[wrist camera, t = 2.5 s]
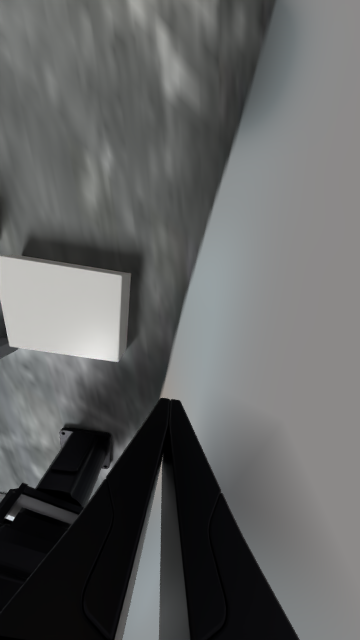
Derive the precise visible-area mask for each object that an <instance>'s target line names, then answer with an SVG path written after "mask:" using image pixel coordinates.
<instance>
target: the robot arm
mask: <svg viewBox="0 0 360 640" xmlns="http://www.w3.org/2000/svg"><path fill="white" fill-rule="evenodd" d="M59 434H60V443H61V450H60V451H59V453H58V454H57V456H56V457H55V459H54V460H53V462H52V464H51V465H50V467H49V468H48V470H47V471H46V473H45V474H44V476H43V477H42V479H41V480H40V482H39V484H38V485H37V487H36V488H35V489H34V488H32V487H29V486H27V485H28V484H25V483H22V484H21V485H20V487H19V488H17V489H10V490H9V491H8V493H7V494H6V495H5V497H4V498H3V499H2V501H1V502H0V640H122V638H123V634H124V629H125V625H126V620H127V616H128V611H129V607H130V602H131V597H132V593H133V588H134V584H135V580H136V575H137V571H138V566H139V562H140V557H141V553H142V548H143V543H144V539H145V534H146V530H147V526H148V521H149V517H150V512H151V508H152V503H153V499H154V494H155V490H156V485H157V480H158V476H159V472H160V467H161V462H162V503H161V509H162V510H161V562H160V567H161V568H160V621H159V623H160V624H159V640H300V639H299V638H298V636H297V634H296V632H295V630H294V629H293V627H292V625H291V623H290V621H289V620H288V618H287V616H286V614H285V612H284V610H283V609H282V607H281V605H280V604H279V601H278V600H277V598H276V596H275V594H274V592H273V591H272V589H271V587H270V585H269V584H268V582H267V580H266V578H265V576H264V574H263V573H262V571H261V569H260V567H259V565H258V563H257V561H256V560H255V558H254V556H253V554H252V552H251V550H250V549H249V547H248V544H247V543H246V541H245V539H244V537H243V535H242V533H241V531H240V529H239V527H238V525H237V523H236V521H235V519H234V517H233V514H232V512H231V510H230V508H229V506H228V504H227V502H226V499H225V497H224V495H223V493H221V489H220V487H219V484H218V482H217V480H216V478H215V476H214V473H213V471H212V469H211V467H210V465H209V463H208V461H207V458H206V456H205V454H204V452H203V449H202V447H201V445H200V443H199V441H198V439H197V436H196V435H195V432H194V430H193V428H192V425H191V423H190V421H189V419H188V417H187V414H186V412H185V410H184V408H183V406H182V404H181V402H180V401H179V400H174V399H171V400H170V399H167V398H160V400H159V401H158V402H157V404H156V405H155V407H154V408H153V410H152V411H151V413H150V414H149V415H148V417H147V418H146V420H145V421H144V423H143V424H142V426H141V427H140V429H139V430H138V431H137V433H136V434H135V436H134V437H133V439H132V440H131V442H130V443H129V444H128V446H127V447H126V449H125V450H124V452H123V453H122V455H121V456H120V458H119V459H118V460H117V462H116V463H115V465H114V466H113V468H112V469H111V471H110V472H109V473H108V475H107V476H106V479H104V480H103V482H102V483H101V485H100V486H99V488H98V489H97V491H96V492H95V494H94V495H93V496H92V498H91V499H90V500H89V498H90V496H91V493H92V491H93V488H94V486H95V483H96V481H97V478H98V476H99V473H100V470H101V468H103V469H108V468H109V466H110V461H111V435H110V434H109V433H102V432H94V431H87V430H79V429H71V428H62V429H61V431H60V432H59ZM162 457H163V459H162ZM220 493H221V494H220ZM88 501H89V502H88ZM8 515H10V516H13V517H15V518H14V520H13V521H12V520H9V519H6V518H7V516H8Z"/></svg>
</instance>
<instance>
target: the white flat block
mask: <svg viewBox="0 0 360 640" xmlns="http://www.w3.org/2000/svg"><path fill="white" fill-rule="evenodd" d="M130 282H131V273H126V272H119V271H113V270H107V269H101V268H95V267H89V266H82V265H76V264H70V263H64V262H58V261H52V260H45V259H39V258H33V257H27V256H20V255H0V300H1V305H2V310H3V315H4V321H5V326H6V331H7V336H8V341H9V346H10V347H17V348H24V349H31V350H38V351H44V352H51V353H58V354H65V355H72V356H79V357H86V358H93V359H100V360H107V361H114V362H119V360H120V358H121V357H122V355H123V354H124V352H125V351H126V349H127V332H128V316H129V299H130Z"/></svg>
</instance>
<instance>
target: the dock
mask: <svg viewBox="0 0 360 640" xmlns="http://www.w3.org/2000/svg"><path fill="white" fill-rule="evenodd" d="M16 350H18V348H17V347H10V346H9V341H8V338H2V337H0V359H1V358H3V357H4V356H6V355H8V354H10V353H12V352H14V351H16Z"/></svg>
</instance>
